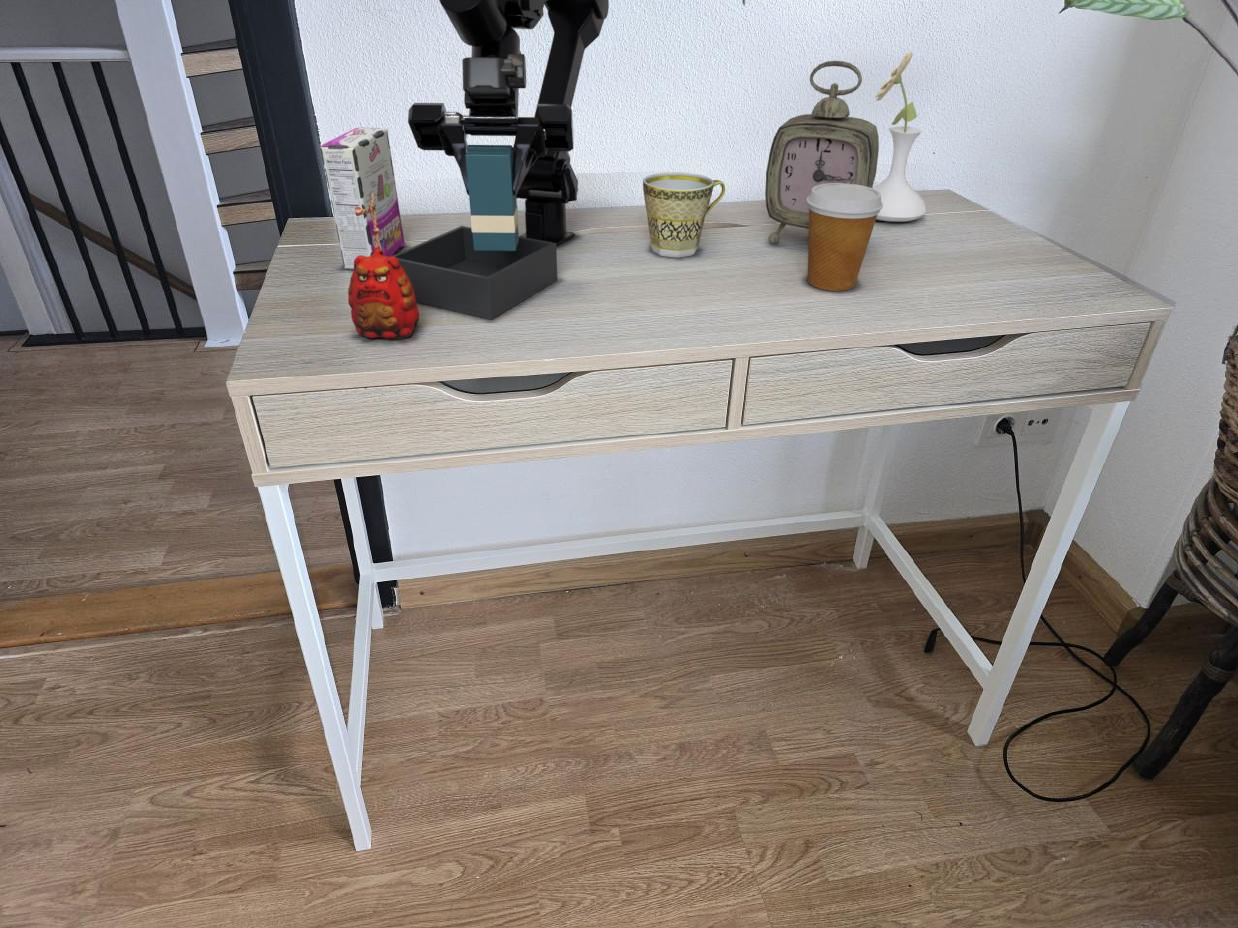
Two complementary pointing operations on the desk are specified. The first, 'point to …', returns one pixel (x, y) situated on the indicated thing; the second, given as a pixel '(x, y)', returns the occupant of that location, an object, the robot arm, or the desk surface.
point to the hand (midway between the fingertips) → (491, 193)
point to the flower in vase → (900, 161)
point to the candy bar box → (363, 192)
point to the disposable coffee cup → (839, 232)
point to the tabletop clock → (818, 154)
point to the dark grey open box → (477, 273)
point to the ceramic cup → (677, 210)
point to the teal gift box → (492, 197)
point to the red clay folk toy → (381, 292)
